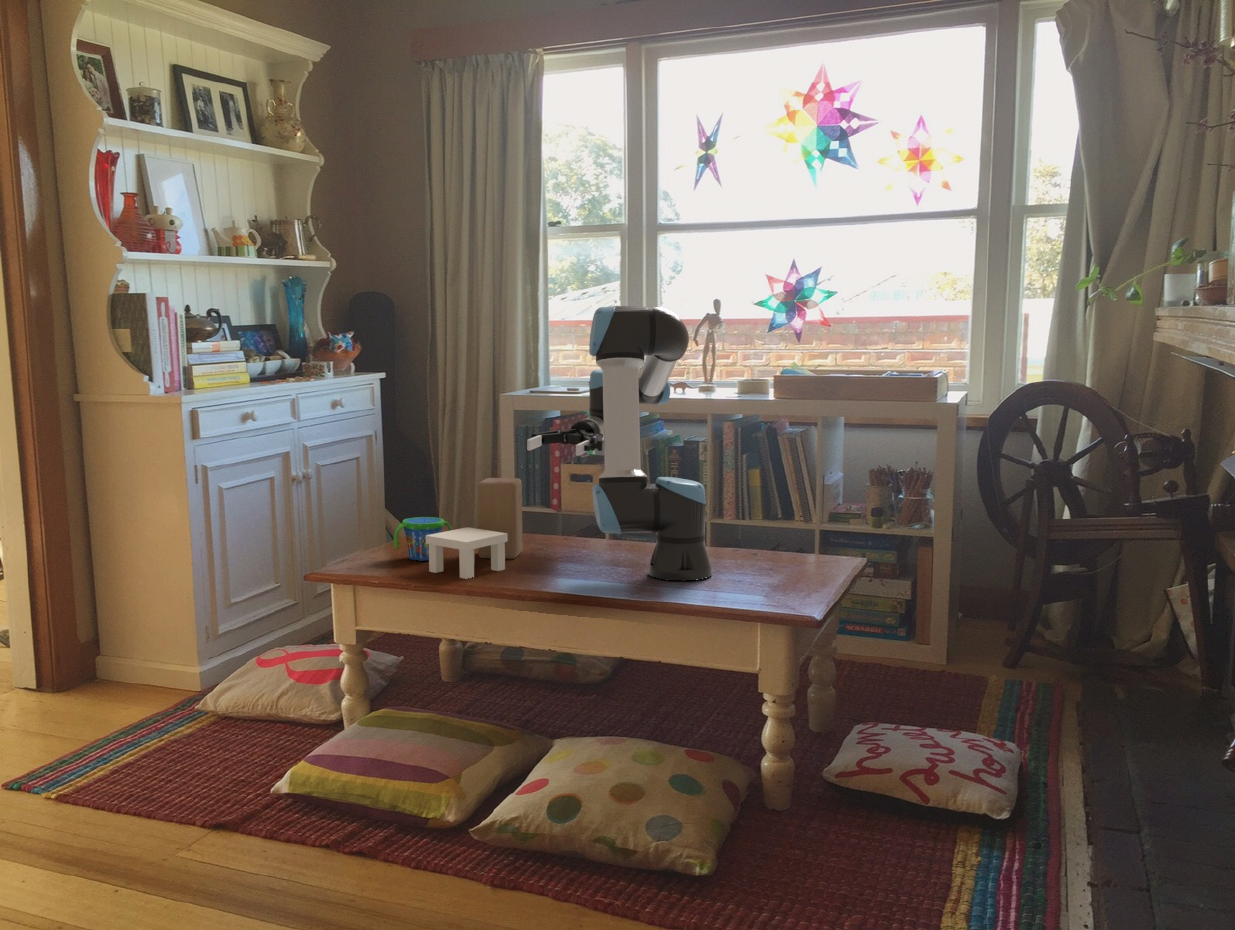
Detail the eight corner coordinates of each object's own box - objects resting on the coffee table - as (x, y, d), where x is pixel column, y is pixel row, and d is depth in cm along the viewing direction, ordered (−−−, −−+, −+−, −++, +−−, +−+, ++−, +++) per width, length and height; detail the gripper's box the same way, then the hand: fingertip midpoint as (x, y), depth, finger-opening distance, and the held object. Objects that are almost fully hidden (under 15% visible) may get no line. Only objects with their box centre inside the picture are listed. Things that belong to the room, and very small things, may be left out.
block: (523, 552, 273) (522, 477, 271) (515, 559, 263) (514, 482, 261) (486, 551, 274) (485, 477, 272) (477, 559, 264) (476, 482, 262)
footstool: (507, 569, 252) (507, 533, 251) (466, 579, 241) (466, 542, 240) (467, 561, 261) (467, 527, 260) (426, 571, 250) (425, 535, 249)
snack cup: (447, 552, 273) (446, 514, 272) (459, 559, 264) (458, 520, 262) (388, 557, 266) (387, 519, 265) (399, 565, 257) (398, 525, 256)
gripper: (630, 450, 272) (597, 467, 253) (546, 442, 281) (509, 457, 262) (631, 423, 270) (598, 437, 251) (546, 415, 280) (508, 428, 261)
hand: (552, 447), depth 257 cm, fingers open, 13 cm apart
